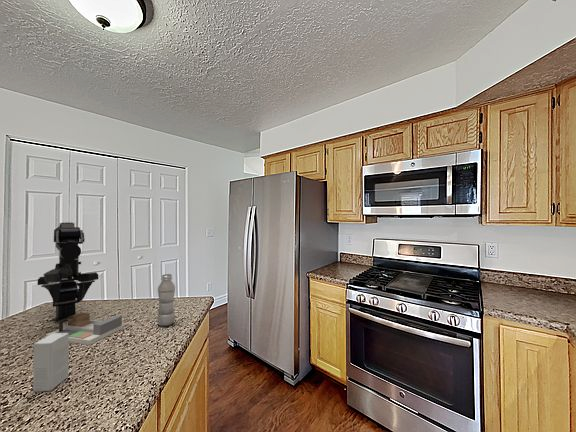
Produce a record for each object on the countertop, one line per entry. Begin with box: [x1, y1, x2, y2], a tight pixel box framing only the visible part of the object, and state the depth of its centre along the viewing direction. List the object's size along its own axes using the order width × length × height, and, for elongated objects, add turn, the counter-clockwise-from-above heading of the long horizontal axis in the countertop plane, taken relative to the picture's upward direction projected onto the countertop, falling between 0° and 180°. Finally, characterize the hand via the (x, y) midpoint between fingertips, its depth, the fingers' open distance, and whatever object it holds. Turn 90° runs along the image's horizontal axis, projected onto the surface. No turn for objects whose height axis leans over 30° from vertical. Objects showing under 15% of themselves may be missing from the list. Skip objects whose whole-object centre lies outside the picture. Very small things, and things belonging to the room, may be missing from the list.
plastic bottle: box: [156, 273, 176, 327], centre depth 106 cm, size 6×7×20 cm
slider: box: [56, 312, 91, 332], centre depth 97 cm, size 4×10×4 cm, turn 167°
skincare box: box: [32, 333, 70, 393], centre depth 67 cm, size 6×4×12 cm
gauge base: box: [45, 315, 125, 346], centre depth 97 cm, size 19×14×5 cm
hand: (68, 301), depth 98 cm, fingers open, 9 cm apart
